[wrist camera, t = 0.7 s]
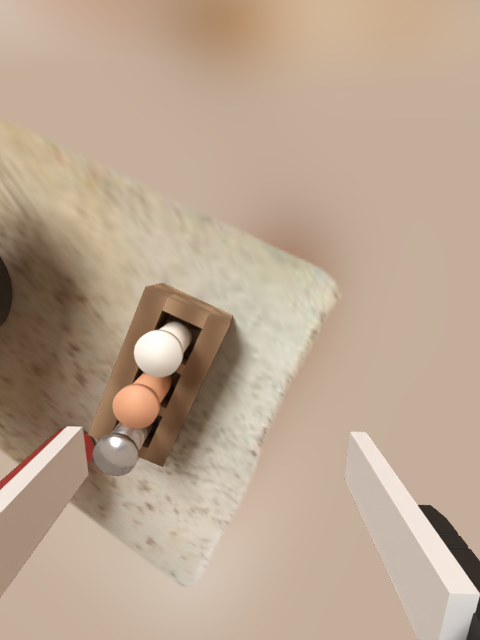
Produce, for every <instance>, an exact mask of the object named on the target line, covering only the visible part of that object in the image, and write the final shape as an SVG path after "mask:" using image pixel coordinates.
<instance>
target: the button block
mask: <svg viewBox="0 0 480 640" xmlns="http://www.w3.org/2000/svg"><path fill="white" fill-rule="evenodd" d="M232 317H233V315H230V314H228V313H226V312H224V311H222V310H220V309H218V308H215V307H213V306H211V305H209V304H207V303H205V302H203V301H200V300H198V299H196V298H194V297H192V296H190V295H188V294H185V293H183V292H181V291H179V290H177V289H175V288H173V287H170V286H168V285H166V284H164V283H160V284H156V285H152V286H147V287H145V290H144V292H143V295H142V297H141V300H140V302H139V305H138V307H137V310H136V313H135V315H134V318H133V320H132V323H131V325H130V328H129V330H128V333H127V336H126V338H125V341H124V343H123V346H122V348H121V351H120V353H119V356H118V359H117V361H116V364H115V366H114V369H113V371H112V374H111V376H110V379H109V382H108V384H107V387H106V389H105V392H104V394H103V397H102V400H101V402H100V405H99V407H98V410H97V412H96V415H95V417H94V420H93V423H92V425H91V428H90V430H89V433H88V435H89V436H91V437H94V438H96V439H98V440H100V439H101V438H102V437H104V436H105V435H107V434H110V433H111V432H112V431H113V430H114V429H115V427H116V426H117V425H118V424H119V421H118V419H117V418H116V416H115V415H114V412H113V400H114V398H115V396H116V394H117V393H118V392H119V391H120V390H121V389H122V388H124V387H125V386H127V385H130V384H133V383H134V382H135V381H136V380H137V379H138V378H139V377H140V376H141V375H142V374H143V373H144V372H143V371H142V370H141V369H140V368H139V366H138V365H137V363H136V361H135V357H134V349H135V345H136V343H137V341H138V340H139V339H140V338H141V337H142V336H143V335H145V334H146V333H148V332H150V331H153V330H159V329H160V328H162V327H163V326H164V325H166V324H167V323H169V322H171V321H181V322H184V323H185V324H187V325H188V326H189V328H190V329H191V332H192V341H191V343H190V345H189V346H188V347H187V349H186V350H185V352H184V353H183V360H182V362H181V364H180V365H179V367H178V368H177V370H176V371H175V372H174V373H172V377H173V383H172V386H171V387H170V389H169V391H168V392H167V394H166V395H165V397H164V398H163V400H162V402H161V403H160V411H159V414H158V415H157V417H156V419H155V423H154V426H153V428H152V429H151V431H150V433H149V434H148V436H147V438H146V440H145V441H144V443H143V445H142V446H141V448H140V450H139V457H141V458H143V459H145V460H148V461H150V462H152V463H155V464H157V465H159V466H162V467H163V465H164V463H165V461H166V459H167V457H168V455H169V453H170V450H171V448H172V446H173V444H174V442H175V440H176V438H177V436H178V434H179V431H180V429H181V427H182V425H183V423H184V421H185V419H186V417H187V415H188V412H189V410H190V408H191V406H192V404H193V402H194V400H195V398H196V396H197V393H198V391H199V389H200V387H201V385H202V383H203V381H204V379H205V377H206V374H207V372H208V370H209V368H210V366H211V364H212V362H213V360H214V357H215V355H216V353H217V351H218V349H219V347H220V345H221V343H222V341H223V338H224V336H225V334H226V332H227V330H228V328H229V326H230V323H231V320H232Z"/></svg>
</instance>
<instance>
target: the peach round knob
mask: <svg viewBox="0 0 480 640" xmlns="http://www.w3.org/2000/svg"><path fill="white" fill-rule="evenodd" d="M172 383H173V377H172V374H171V375H168V376H165V377H153V376H150V375H148V374H146V373H145V372H144V373H143V374H142V375H141V376H140V377H139V378H138V379H137V380H136V381H135V382H134V383H133V384H130V385H127V386H125V387H124V388H122V389H121V390H120V391H119V392H118V393H117V394H116V396H115V398H114V400H113V412H114V415H115V416H116V418H117V419H118V421H119V422H121V423H122V424H123V425H125V426H127V427H129V428H134V429H141V428H145V427H147V426H149V425H150V424H152V423H153V422H154V420H155V419H156V417H157V415H158V414H159V411H160V403H161V402H162V400H163V398H164V397H165V395H166V394H167V392H168V391H169V389H170V387H171V386H172Z"/></svg>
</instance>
